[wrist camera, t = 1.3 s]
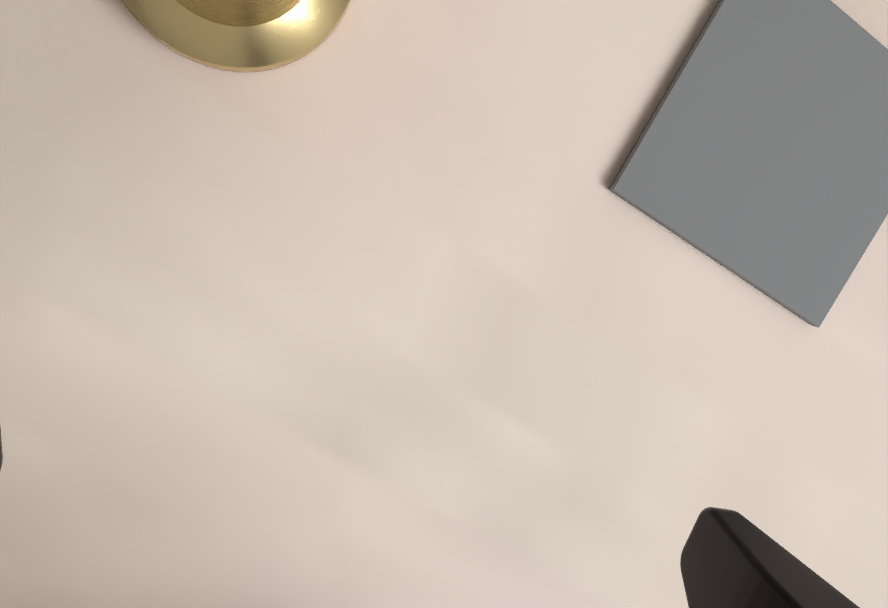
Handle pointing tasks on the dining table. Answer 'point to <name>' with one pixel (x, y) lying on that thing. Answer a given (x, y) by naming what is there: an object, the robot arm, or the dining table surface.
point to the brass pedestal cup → (240, 29)
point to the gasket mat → (772, 149)
